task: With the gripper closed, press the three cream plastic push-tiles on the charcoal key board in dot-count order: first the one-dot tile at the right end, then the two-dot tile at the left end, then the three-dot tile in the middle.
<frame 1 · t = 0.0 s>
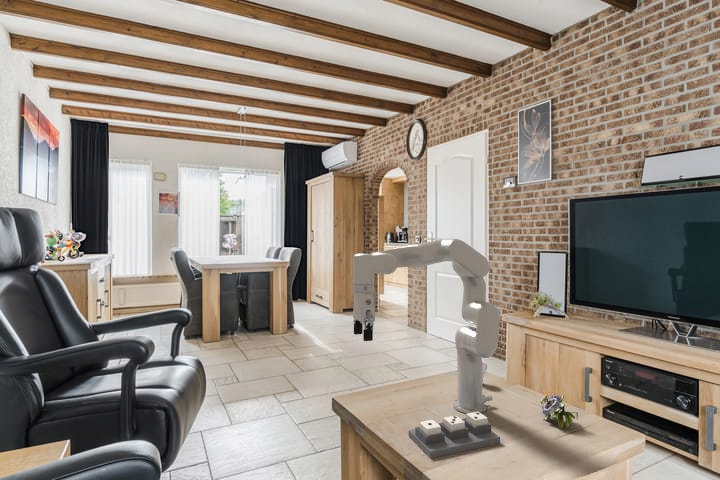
hand: (362, 337, 139), 31 cm above the table, tool pointing down, fingers open, 9 cm apart
one-dot tile: (429, 428, 127), point 5 cm above the table, slide at 0.0 cm
two-dot tile: (476, 420, 133), point 5 cm above the table, slide at 0.0 cm
three-dot tile: (453, 424, 130), point 5 cm above the table, slide at 0.0 cm
key board: (453, 439, 130), on the table
passion flower: (558, 422, 143), on the table
light bulb: (479, 383, 180), on the table
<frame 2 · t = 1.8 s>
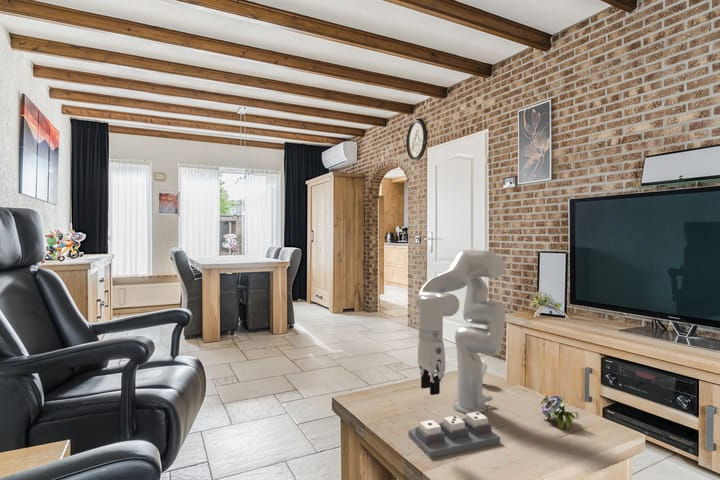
hand: (430, 390, 127), 17 cm above the table, tool pointing down, fingers open, 4 cm apart
nothing on the table moved.
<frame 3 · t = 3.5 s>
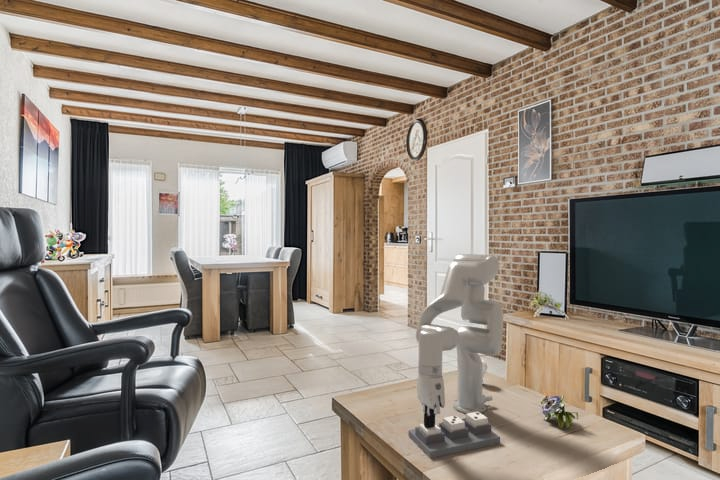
hand: (429, 426, 126), 6 cm above the table, tool pointing down, fingers closed
one-dot tile: (429, 430, 127), point 4 cm above the table, slide at 0.7 cm
everything else where it was.
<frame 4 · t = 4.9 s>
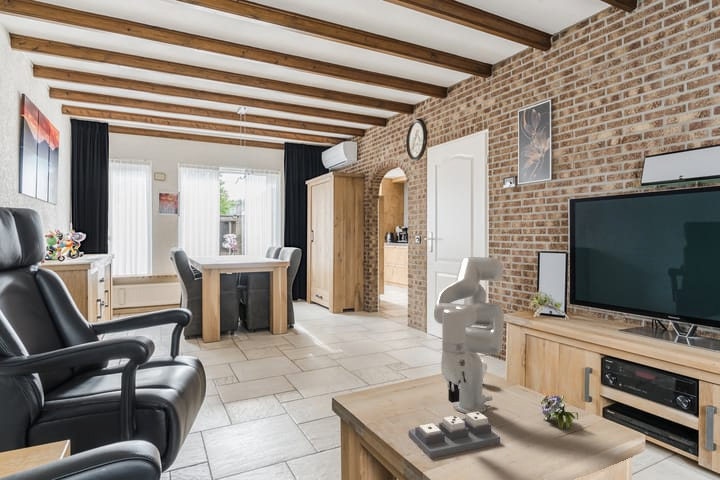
hand: (453, 401, 130), 12 cm above the table, tool pointing down, fingers closed
one-dot tile: (429, 432, 127), point 4 cm above the table, slide at 1.2 cm
everything else where it was.
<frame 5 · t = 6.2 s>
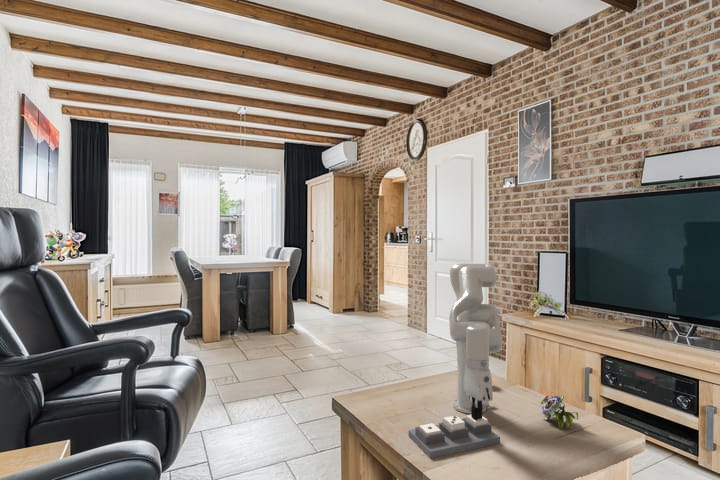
hand: (476, 417, 132), 6 cm above the table, tool pointing down, fingers closed
two-dot tile: (476, 421, 133), point 4 cm above the table, slide at 0.6 cm, touching gripper
everything else where it was.
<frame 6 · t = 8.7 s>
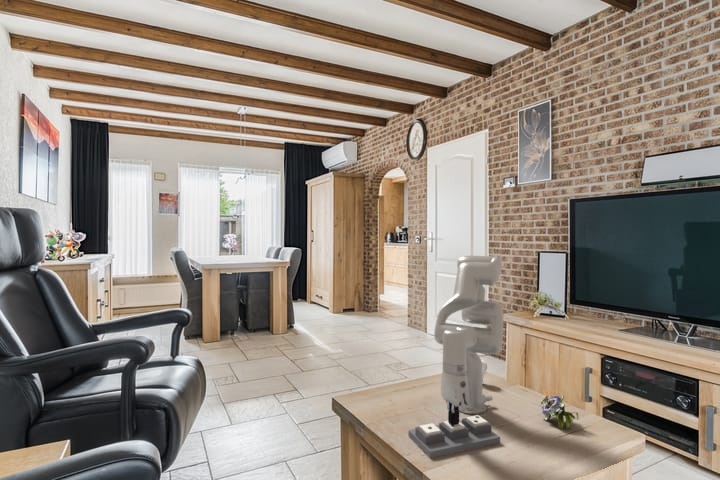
hand: (453, 423, 130), 5 cm above the table, tool pointing down, fingers closed
two-dot tile: (476, 423, 133), point 4 cm above the table, slide at 1.2 cm
three-dot tile: (453, 427, 130), point 4 cm above the table, slide at 1.2 cm, touching gripper
everything else where it was.
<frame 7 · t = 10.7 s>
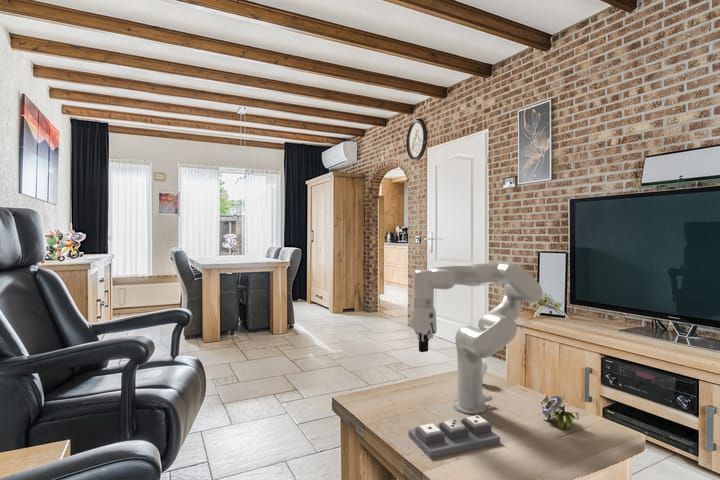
hand: (423, 351, 149), 24 cm above the table, tool pointing down, fingers closed
three-dot tile: (453, 427, 130), point 4 cm above the table, slide at 1.2 cm
everything else where it was.
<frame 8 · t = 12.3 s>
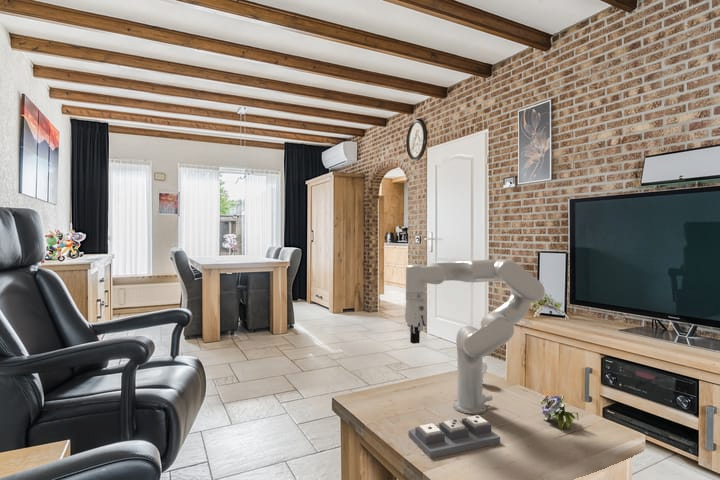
hand: (414, 342, 155), 25 cm above the table, tool pointing down, fingers closed
nothing on the table moved.
at the end: one-dot tile slide at 1.2 cm; two-dot tile slide at 1.2 cm; three-dot tile slide at 1.2 cm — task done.
